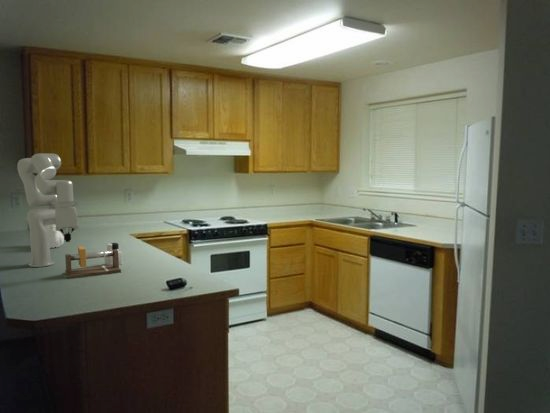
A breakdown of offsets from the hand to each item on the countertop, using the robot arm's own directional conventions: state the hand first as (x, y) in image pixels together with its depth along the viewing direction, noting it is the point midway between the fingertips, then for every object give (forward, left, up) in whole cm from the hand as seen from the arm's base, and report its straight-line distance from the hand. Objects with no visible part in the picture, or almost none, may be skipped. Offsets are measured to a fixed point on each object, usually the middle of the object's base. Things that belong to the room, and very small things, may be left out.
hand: (67, 241), depth 231 cm
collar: (-1, +6, -13) cm, 14 cm away
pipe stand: (-1, +11, -17) cm, 21 cm away
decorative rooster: (-89, -2, -18) cm, 91 cm away
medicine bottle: (-15, +24, -18) cm, 34 cm away
